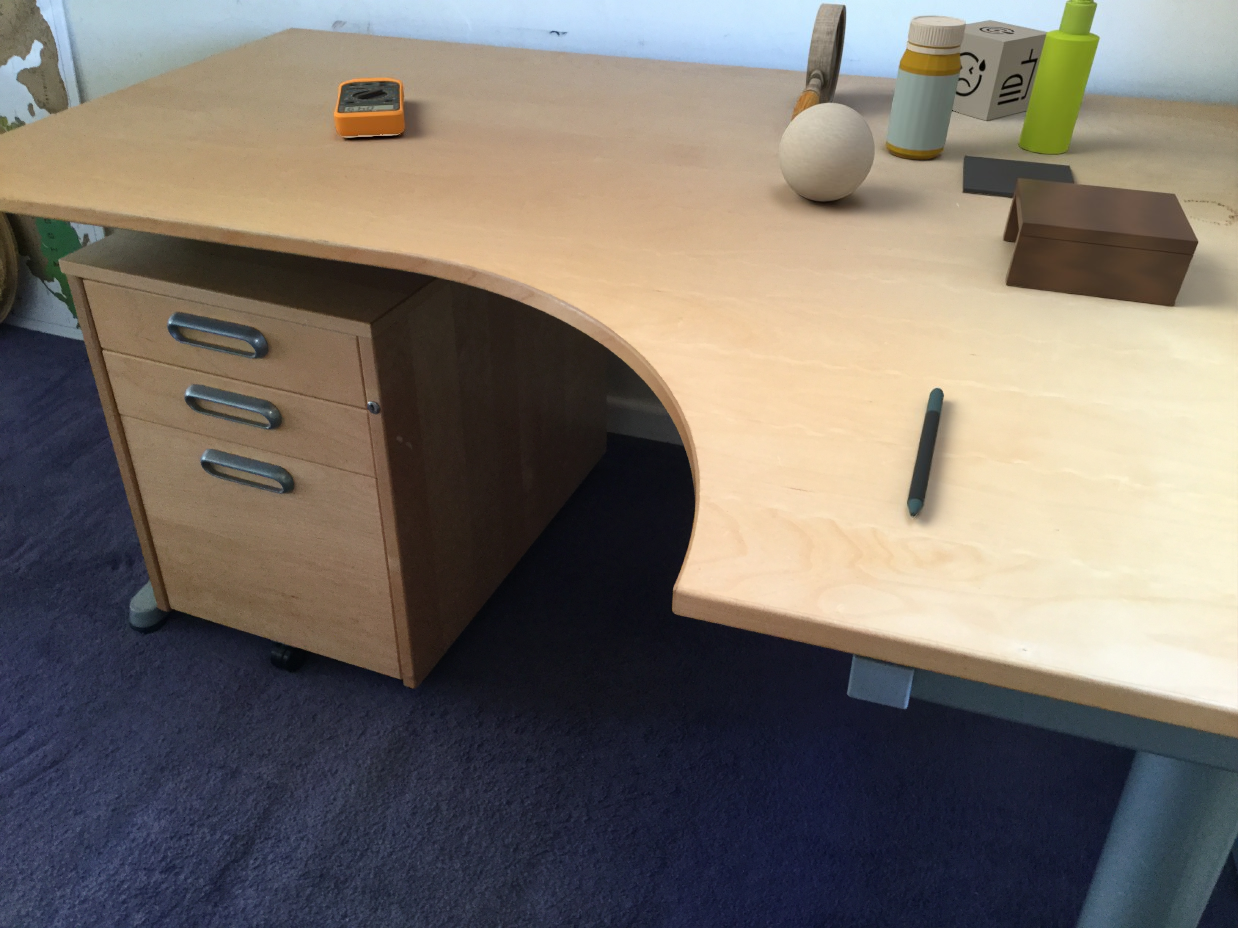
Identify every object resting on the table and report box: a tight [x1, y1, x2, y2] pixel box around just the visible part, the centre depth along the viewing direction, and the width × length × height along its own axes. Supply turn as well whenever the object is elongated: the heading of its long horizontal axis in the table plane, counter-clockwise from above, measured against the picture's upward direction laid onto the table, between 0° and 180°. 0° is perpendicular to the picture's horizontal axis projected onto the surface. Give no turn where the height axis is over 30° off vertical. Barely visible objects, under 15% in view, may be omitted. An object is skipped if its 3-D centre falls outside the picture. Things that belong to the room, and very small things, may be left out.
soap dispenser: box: [1018, 0, 1101, 155], centre depth 112 cm, size 6×7×20 cm
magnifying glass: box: [789, 3, 847, 124], centre depth 126 cm, size 13×3×25 cm
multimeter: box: [333, 77, 406, 137], centre depth 125 cm, size 9×18×3 cm, turn 11°
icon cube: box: [952, 19, 1048, 122], centre depth 130 cm, size 10×10×10 cm
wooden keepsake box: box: [1002, 178, 1200, 307], centre depth 87 cm, size 14×12×6 cm
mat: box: [962, 154, 1075, 198], centre depth 108 cm, size 12×12×1 cm
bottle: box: [885, 14, 967, 161], centre depth 112 cm, size 7×7×15 cm
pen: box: [906, 387, 945, 519], centre depth 63 cm, size 1×16×1 cm, turn 159°
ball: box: [778, 102, 876, 202], centre depth 100 cm, size 10×10×10 cm
